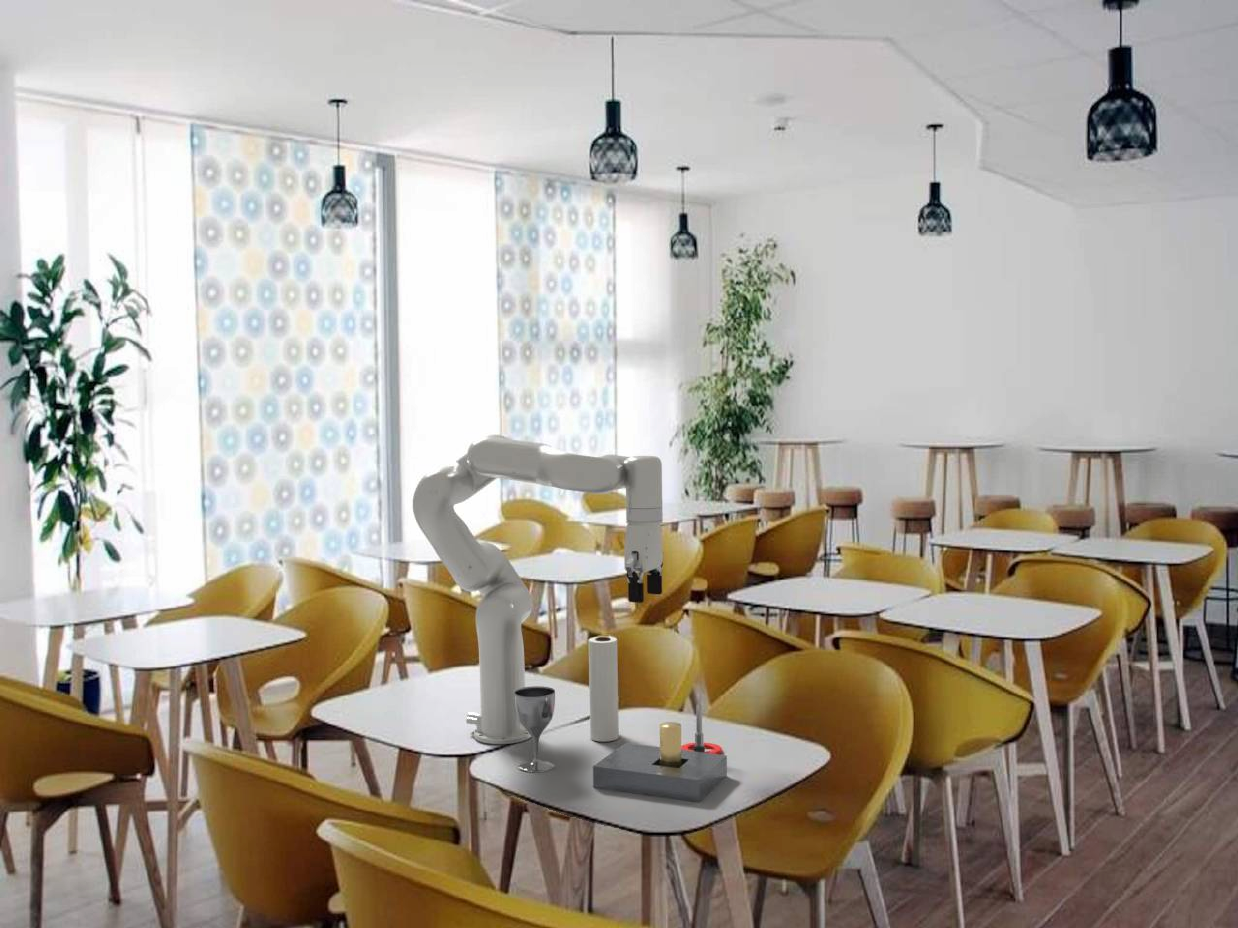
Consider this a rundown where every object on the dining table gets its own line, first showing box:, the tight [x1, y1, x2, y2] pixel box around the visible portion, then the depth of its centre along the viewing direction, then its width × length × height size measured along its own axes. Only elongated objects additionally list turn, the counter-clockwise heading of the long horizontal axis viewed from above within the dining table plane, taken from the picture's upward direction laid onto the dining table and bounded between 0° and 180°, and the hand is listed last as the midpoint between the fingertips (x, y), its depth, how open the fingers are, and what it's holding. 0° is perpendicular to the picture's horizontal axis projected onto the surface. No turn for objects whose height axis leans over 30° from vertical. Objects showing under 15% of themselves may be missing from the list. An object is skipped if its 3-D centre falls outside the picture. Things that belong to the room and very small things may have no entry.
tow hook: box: [681, 693, 723, 755], centre depth 239 cm, size 8×13×9 cm
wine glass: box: [514, 685, 556, 773], centre depth 231 cm, size 8×8×15 cm
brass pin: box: [659, 721, 682, 768], centre depth 221 cm, size 4×4×11 cm
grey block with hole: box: [592, 742, 728, 803], centre depth 222 cm, size 21×15×4 cm
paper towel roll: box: [588, 634, 620, 743], centre depth 249 cm, size 7×6×21 cm
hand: (645, 597), depth 245 cm, fingers open, 9 cm apart
